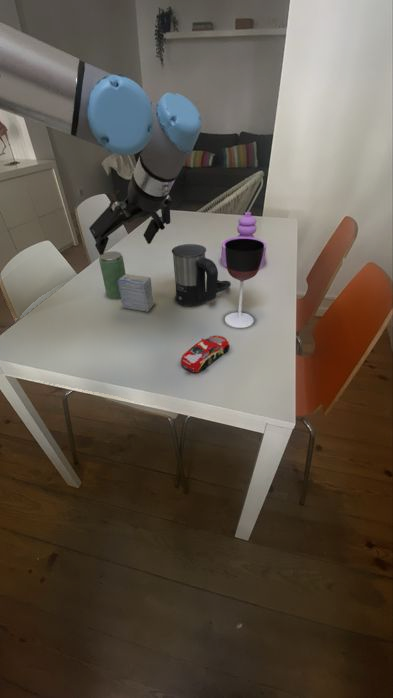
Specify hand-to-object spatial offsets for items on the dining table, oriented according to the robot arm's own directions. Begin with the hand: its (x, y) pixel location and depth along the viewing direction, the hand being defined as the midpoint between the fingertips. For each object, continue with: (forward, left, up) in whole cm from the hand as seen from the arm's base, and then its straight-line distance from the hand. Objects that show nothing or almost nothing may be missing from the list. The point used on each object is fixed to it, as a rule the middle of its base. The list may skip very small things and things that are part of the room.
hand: (124, 244), depth 80 cm
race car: (+21, -23, -18) cm, 36 cm away
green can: (-6, +7, -18) cm, 20 cm away
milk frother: (+20, +6, -18) cm, 27 cm away
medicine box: (+2, -1, -18) cm, 18 cm away
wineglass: (+30, -7, -18) cm, 35 cm away
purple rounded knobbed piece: (+34, +36, -18) cm, 52 cm away
